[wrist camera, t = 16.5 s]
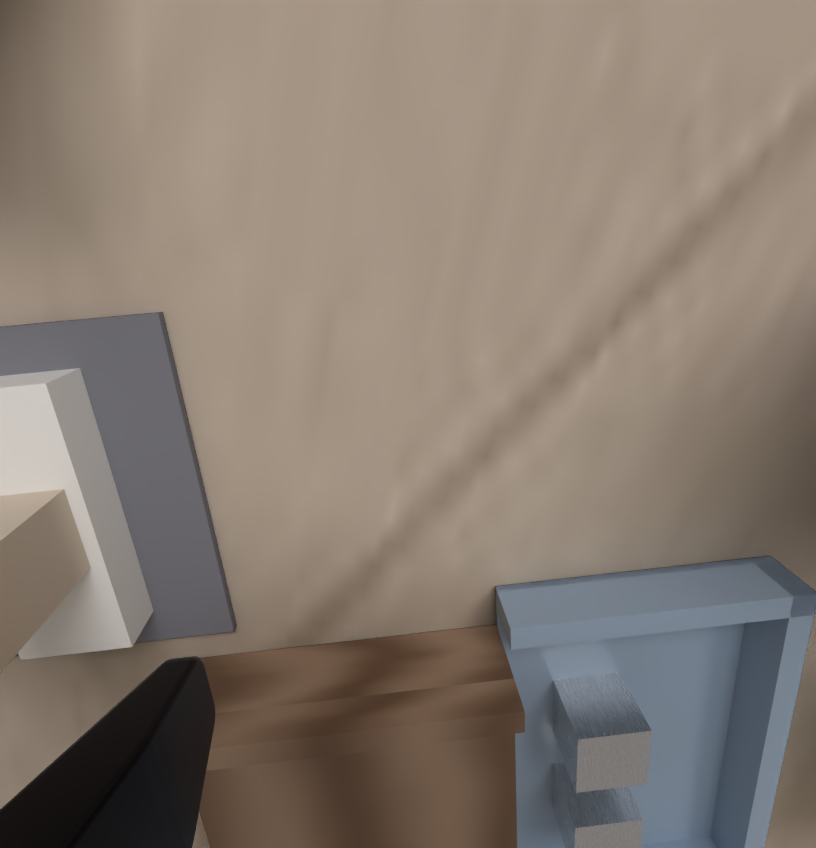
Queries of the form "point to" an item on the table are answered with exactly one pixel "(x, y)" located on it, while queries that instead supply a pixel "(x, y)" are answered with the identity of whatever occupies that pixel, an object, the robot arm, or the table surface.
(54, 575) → the plate with square knob
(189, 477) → the mat
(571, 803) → the grey square block
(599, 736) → the chip
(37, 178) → the table surface
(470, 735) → the groove block
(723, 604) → the chip tray
